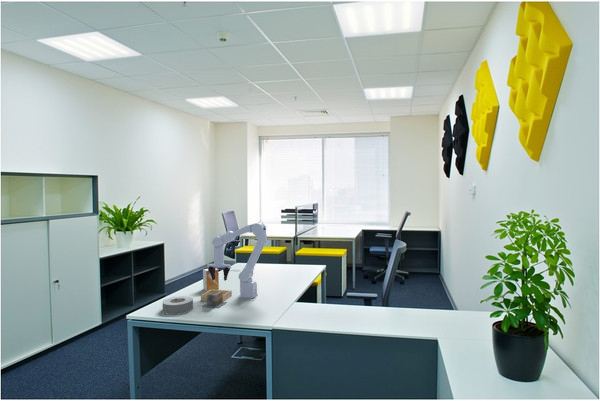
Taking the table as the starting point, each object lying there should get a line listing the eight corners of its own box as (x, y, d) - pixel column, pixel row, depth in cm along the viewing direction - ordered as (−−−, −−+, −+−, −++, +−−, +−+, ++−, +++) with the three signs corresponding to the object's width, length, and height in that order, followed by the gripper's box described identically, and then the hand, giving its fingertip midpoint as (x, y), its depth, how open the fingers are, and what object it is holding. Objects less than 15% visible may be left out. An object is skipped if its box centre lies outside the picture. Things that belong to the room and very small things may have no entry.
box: (222, 302, 208) (222, 291, 208) (215, 306, 200) (215, 295, 200) (214, 301, 209) (214, 291, 209) (207, 306, 202) (207, 294, 201)
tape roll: (187, 314, 191) (187, 304, 191) (157, 314, 191) (157, 304, 191) (196, 305, 206) (196, 295, 206) (168, 305, 207) (168, 296, 207)
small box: (206, 291, 233) (206, 270, 233) (203, 289, 238) (202, 269, 238) (219, 289, 238) (218, 269, 237) (215, 287, 243) (215, 267, 243)
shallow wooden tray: (231, 296, 222) (231, 290, 221) (222, 302, 210) (222, 296, 210) (211, 295, 225) (211, 289, 225) (200, 301, 213) (200, 295, 213)
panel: (227, 303, 208) (227, 302, 208) (219, 308, 198) (218, 307, 198) (210, 302, 211) (210, 301, 211) (201, 307, 201) (201, 306, 201)
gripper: (204, 257, 221) (205, 281, 221) (227, 258, 217) (227, 282, 217) (210, 255, 228) (210, 278, 228) (232, 256, 224) (233, 279, 224)
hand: (219, 280), depth 223 cm, fingers open, 7 cm apart
